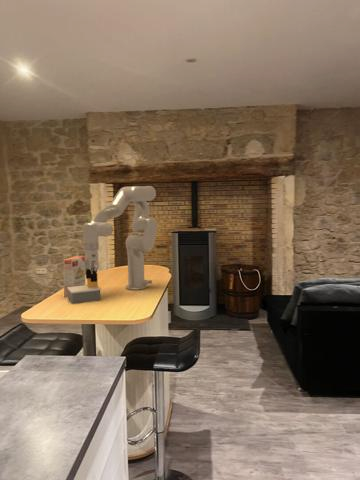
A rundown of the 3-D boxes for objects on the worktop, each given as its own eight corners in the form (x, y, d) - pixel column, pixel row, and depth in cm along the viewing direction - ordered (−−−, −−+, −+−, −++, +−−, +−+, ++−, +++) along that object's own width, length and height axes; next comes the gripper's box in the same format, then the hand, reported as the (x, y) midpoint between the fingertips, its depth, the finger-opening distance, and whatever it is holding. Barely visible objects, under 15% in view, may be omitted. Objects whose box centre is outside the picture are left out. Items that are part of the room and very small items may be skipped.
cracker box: (74, 298, 186) (72, 259, 184) (63, 298, 187) (62, 259, 185) (86, 292, 199) (85, 255, 197) (76, 292, 200) (75, 255, 199)
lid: (95, 287, 190) (94, 276, 189) (101, 291, 179) (100, 279, 179) (67, 290, 183) (66, 278, 182) (71, 295, 172) (71, 283, 172)
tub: (95, 296, 190) (94, 285, 189) (100, 301, 180) (100, 289, 179) (68, 300, 183) (67, 288, 182) (72, 305, 173) (72, 293, 173)
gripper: (102, 248, 175) (103, 282, 176) (93, 245, 190) (94, 276, 192) (87, 248, 172) (88, 283, 173) (79, 245, 187) (80, 277, 188)
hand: (91, 279), depth 182 cm, fingers open, 9 cm apart
